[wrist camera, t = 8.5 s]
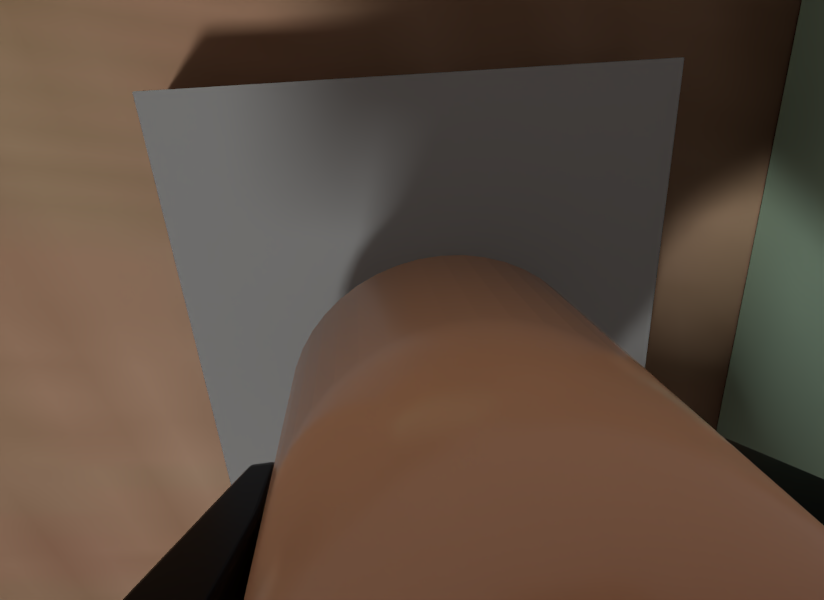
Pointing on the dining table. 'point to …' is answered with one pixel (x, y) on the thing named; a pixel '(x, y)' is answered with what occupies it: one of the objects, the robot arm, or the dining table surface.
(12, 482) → the dining table surface
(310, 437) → the terracotta pot
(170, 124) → the rubber mat
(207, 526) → the robot arm
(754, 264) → the cold frame
